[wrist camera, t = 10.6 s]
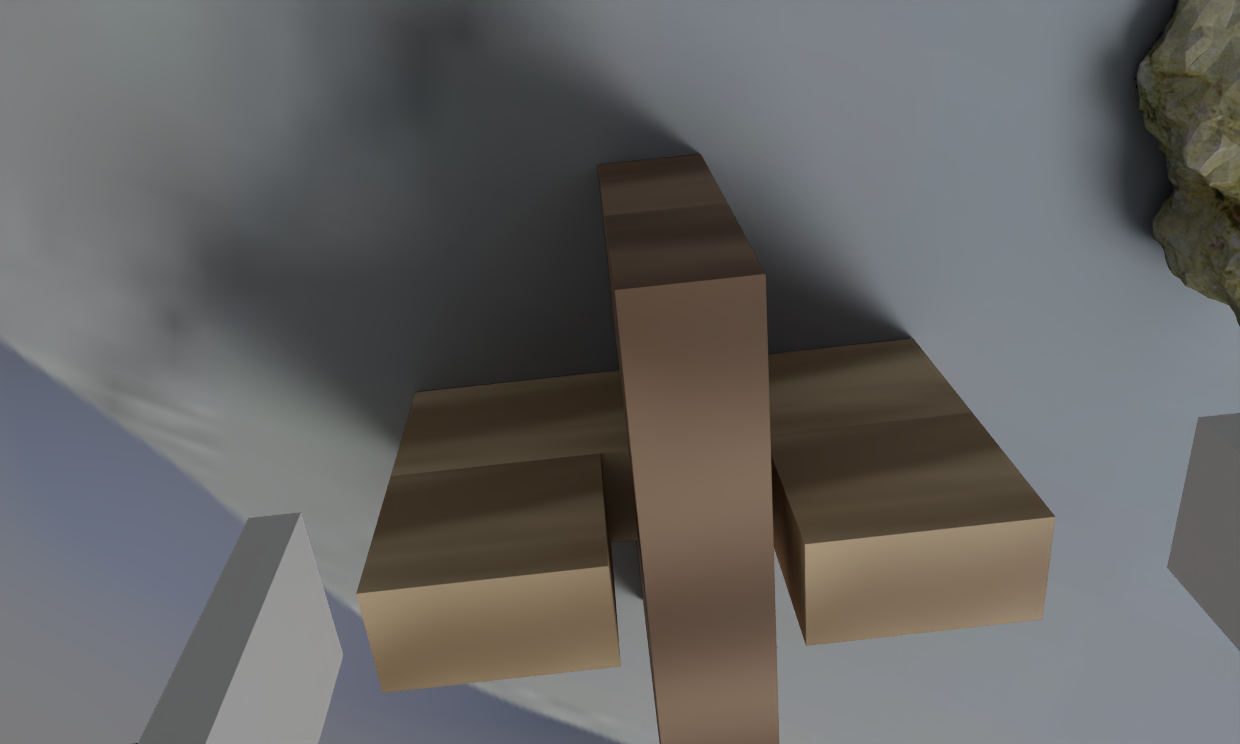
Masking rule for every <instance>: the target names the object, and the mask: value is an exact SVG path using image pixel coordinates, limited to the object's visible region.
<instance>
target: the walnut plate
mask: <svg viewBox="0 0 1240 744" xmlns="http://www.w3.org/2000/svg"><path fill="white" fill-rule="evenodd" d="M598 174H599V184H600V193H601V203H602V213H603V222H604V232H605V241H606V251H607V260H608V270H609V280H610V289H611V299H612V308H613V318H614V328H615V337H616V346H617V354H618V363H619V371H620V379H621V387H622V395H623V403H624V411H625V419H626V428H627V438H628V447H629V457H630V467H631V476H632V486H633V496H634V505H635V515H636V525H637V534H638V540H637V548H638V557H639V567H640V576H641V586H642V596H643V605H644V613H645V622H646V630H647V639H648V648H649V656H650V665H651V673H652V682H653V690H654V699H655V708H656V716H657V725H658V733H659V742H660V744H779V718H778V683H777V649H776V614H775V579H774V544H773V510H772V475H771V440H770V405H769V370H768V336H767V301H766V274H765V272H764V270H763V268H762V266H761V264H760V263H759V261H758V259H757V257H756V255H755V253H754V251H753V250H752V248H751V246H750V244H749V242H748V240H747V239H746V237H745V235H744V233H743V231H742V229H741V227H740V226H739V224H738V222H737V220H736V218H735V216H734V215H733V213H732V211H731V209H730V207H729V205H728V204H727V202H726V200H725V198H724V196H723V194H722V192H721V191H720V189H719V187H718V185H717V183H716V181H715V180H714V178H713V176H712V174H711V172H710V170H709V168H708V167H707V165H706V163H705V161H704V159H703V157H702V156H701V154H695V155H685V156H676V157H667V158H657V159H648V160H638V161H629V162H620V163H610V164H601V165H598Z"/></svg>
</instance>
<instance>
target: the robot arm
mask: <svg viewBox="0 0 1240 744" xmlns="http://www.w3.org/2000/svg"><path fill="white" fill-rule="evenodd" d="M1167 568H1168V569H1169V570H1170V571H1171V573H1172V574H1173V575H1174V576H1175V577H1176V578H1177V579H1178V581H1179V582H1180V583H1181V584H1182V585H1183V586H1184V588H1185V589H1186V590H1187V591H1188V592H1189V593H1190V594H1191V596H1192V597H1193V598H1194V599H1195V600H1196V601H1197V603H1198V604H1199V605H1200V606H1201V607H1202V608H1203V609H1204V611H1205V612H1206V613H1207V614H1208V615H1209V616H1210V618H1211V619H1212V620H1213V621H1214V622H1215V623H1216V624H1217V626H1218V627H1219V628H1220V629H1221V630H1222V631H1223V633H1224V634H1225V635H1226V636H1227V637H1228V638H1229V639H1230V641H1231V642H1232V643H1233V644H1234V645H1235V646H1236V648H1237V649H1238V650H1239V651H1240V413H1235V414H1226V415H1216V416H1207V417H1198V421H1197V426H1196V431H1195V436H1194V440H1193V445H1192V450H1191V455H1190V460H1189V464H1188V469H1187V474H1186V479H1185V484H1184V489H1183V493H1182V498H1181V503H1180V508H1179V513H1178V518H1177V522H1176V527H1175V532H1174V537H1173V542H1172V547H1171V551H1170V556H1169V561H1168V566H1167ZM342 657H343V653H342V650H341V646H340V643H339V639H338V636H337V633H336V629H335V626H334V623H333V619H332V616H331V613H330V609H329V606H328V602H327V599H326V596H325V592H324V589H323V585H322V582H321V579H320V575H319V572H318V569H317V565H316V562H315V558H314V555H313V552H312V548H311V545H310V541H309V538H308V535H307V531H306V528H305V525H304V521H303V518H302V514H301V513H292V514H283V515H273V516H264V517H254V518H248V520H247V522H246V524H245V526H244V528H243V530H242V532H241V534H240V536H239V538H238V540H237V543H236V545H235V547H234V549H233V551H232V553H231V555H230V557H229V559H228V561H227V563H226V565H225V567H224V569H223V571H222V573H221V575H220V577H219V579H218V581H217V584H216V585H215V587H214V589H213V591H212V593H211V596H210V598H209V600H208V602H207V604H206V606H205V608H204V610H203V612H202V614H201V616H200V618H199V620H198V622H197V624H196V626H195V628H194V630H193V632H192V634H191V636H190V638H189V640H188V642H187V644H186V646H185V649H184V650H183V653H182V655H181V657H180V659H179V661H178V663H177V665H176V667H175V669H174V671H173V673H172V675H171V677H170V679H169V681H168V683H167V685H166V687H165V689H164V691H163V693H162V695H161V697H160V699H159V701H158V704H157V705H156V708H155V710H154V712H153V714H152V716H151V718H150V720H149V722H148V724H147V726H146V728H145V730H144V732H143V734H142V736H141V738H140V740H139V742H138V743H136V744H318V742H319V739H320V735H321V731H322V728H323V724H324V721H325V717H326V714H327V710H328V707H329V703H330V700H331V696H332V693H333V689H334V685H335V682H336V678H337V675H338V672H339V668H340V665H341V661H342Z"/></svg>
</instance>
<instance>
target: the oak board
mask: <svg viewBox="0 0 1240 744" xmlns="http://www.w3.org/2000/svg"><path fill="white" fill-rule="evenodd" d="M768 370H769V405H770V440H771V475H772V510H773V544H774V549H775V552H776V555H777V558H778V561H779V564H780V567H781V570H782V573H783V576H784V579H785V582H786V586H787V589H788V592H789V595H790V598H791V601H792V604H793V607H794V610H795V613H796V616H797V619H798V622H799V625H800V628H801V631H802V634H803V637H804V640H805V644H806V646H808V645H817V644H826V643H835V642H844V641H853V640H862V639H871V638H880V637H889V636H898V635H907V634H916V633H925V632H934V631H943V630H952V629H961V628H970V627H979V626H988V625H997V624H1007V623H1016V622H1025V621H1034V620H1042V619H1043V611H1044V603H1045V595H1046V587H1047V579H1048V571H1049V563H1050V555H1051V547H1052V539H1053V531H1054V523H1055V516H1054V515H1053V513H1052V512H1051V511H1050V510H1049V508H1048V507H1047V506H1046V505H1045V503H1044V502H1043V501H1042V499H1041V498H1040V497H1039V496H1038V494H1037V493H1036V492H1035V491H1034V489H1033V488H1032V487H1031V486H1030V484H1029V483H1028V482H1027V481H1026V479H1025V478H1024V477H1023V476H1022V474H1021V473H1020V472H1019V471H1018V469H1017V468H1016V467H1015V466H1014V464H1013V463H1012V462H1011V461H1010V459H1009V458H1008V457H1007V456H1006V454H1005V453H1004V452H1003V451H1002V449H1001V448H1000V447H999V446H998V444H997V443H996V442H995V440H994V439H993V438H992V437H991V435H990V434H989V433H988V432H987V430H986V429H985V428H984V427H983V425H982V424H981V423H980V422H979V420H978V419H977V418H976V417H975V415H974V414H973V413H972V412H971V410H970V409H969V408H968V407H967V405H966V404H965V403H964V402H963V400H962V399H961V398H960V397H959V395H958V394H957V393H956V392H955V390H954V389H953V388H952V387H951V385H950V384H949V383H948V382H947V380H946V379H945V378H944V376H943V375H942V374H941V373H940V371H939V370H938V369H937V368H936V366H935V365H934V364H933V363H932V361H931V360H930V359H929V358H928V356H927V355H926V354H925V353H924V351H923V350H922V349H921V348H920V346H919V345H918V344H917V343H916V341H915V340H914V339H913V338H912V339H903V340H894V341H884V342H875V343H866V344H857V345H848V346H838V347H829V348H820V349H811V350H802V351H792V352H783V353H774V354H768ZM632 540H638V534H637V525H636V515H635V505H634V496H633V486H632V476H631V467H630V457H629V447H628V438H627V428H626V419H625V411H624V403H623V395H622V387H621V379H620V371H619V370H617V371H608V372H599V373H590V374H581V375H571V376H562V377H553V378H544V379H535V380H525V381H516V382H507V383H498V384H489V385H479V386H470V387H461V388H452V389H443V390H433V391H424V392H415V395H414V399H413V402H412V405H411V409H410V412H409V416H408V419H407V422H406V426H405V429H404V433H403V436H402V440H401V443H400V446H399V450H398V453H397V457H396V460H395V463H394V467H393V470H392V474H391V477H390V481H389V484H388V487H387V491H386V494H385V498H384V501H383V504H382V508H381V511H380V515H379V518H378V521H377V525H376V528H375V532H374V535H373V539H372V542H371V545H370V549H369V552H368V556H367V559H366V562H365V566H364V569H363V573H362V576H361V579H360V583H359V586H358V590H357V593H356V595H357V598H358V602H359V606H360V609H361V613H362V617H363V621H364V624H365V628H366V632H367V635H368V639H369V643H370V647H371V650H372V654H373V658H374V661H375V665H376V669H377V673H378V676H379V680H380V684H381V687H382V691H383V693H384V692H394V691H403V690H411V689H420V688H430V687H439V686H447V685H456V684H466V683H475V682H484V681H493V680H502V679H511V678H520V677H529V676H538V675H547V674H556V673H565V672H574V671H583V670H592V669H601V668H610V667H619V666H621V664H620V651H619V638H618V625H617V612H616V599H615V587H614V574H613V561H612V548H611V543H614V542H623V541H632Z"/></svg>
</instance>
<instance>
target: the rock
mask: <svg viewBox="0 0 1240 744" xmlns="http://www.w3.org/2000/svg"><path fill="white" fill-rule="evenodd" d="M1148 52H1149V53H1148V54H1147V56H1146V57H1145V58H1143V60H1142V61H1141V62H1140V65H1139V69H1138V73H1137V75H1136V77H1135V78H1134V80H1135V81H1136V82H1137V85H1136V88H1137V89H1138V91H1139V96H1140V100H1139V110H1140V111H1141V113H1142V114H1143V118H1144V124H1145V129H1147V130H1148V131H1149V132H1150V133H1151V134H1152V135H1153V136H1154V137H1155V138H1156V140H1157V142H1158V149H1159V150H1161V151H1162V152H1164V153H1165V158H1166V163H1167V171H1168V179H1169V181H1170V182H1171V183H1172V194H1170V195H1169V196H1168V197H1167V198H1166V200H1165V201H1164V203H1163V204H1162V206H1161V208H1160V210H1159V212H1158V213H1157V214H1156V215H1155V217H1154V219H1153V221H1152V233H1153V238H1154V239H1155V240H1156V241H1158V242H1159V243H1160V244H1161V246H1162V248H1163V250H1164V254H1165V259H1166V262H1167V265H1168V268H1169V269H1170V271H1171V272H1172V273H1173V275H1175V276H1176V277H1178V278H1180V279H1181V281H1182V282H1183V283H1184V285H1185V286H1187V287H1190V288H1192V289H1194V290H1196V291H1198V292H1199V293H1201V294H1203V295H1204V296H1206V297H1207V298H1210V299H1214V300H1217V301H1220V302H1222V303H1225V304H1227V305H1229V306H1230V307H1231V309H1232V310H1233V312H1234V313H1235V315H1236V318H1237V322H1238V324H1239V326H1240V0H1175V3H1174V7H1173V14H1172V16H1171V18H1170V20H1168V22H1167V25H1166V26H1165V29H1164V31H1163V32H1162V33H1161V34H1159V37H1158V38H1156V40H1155V41H1154V43H1153V44H1152V46H1151V48H1149V49H1148Z"/></svg>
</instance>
